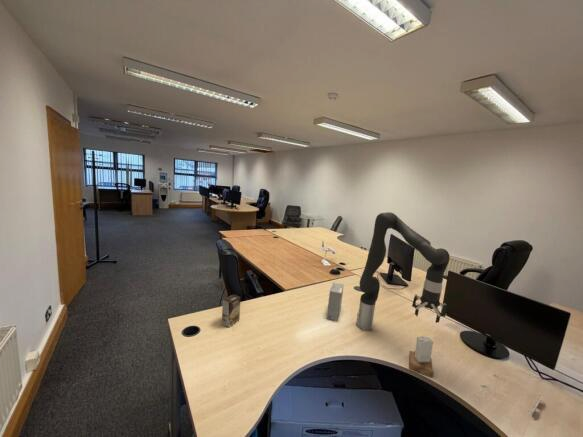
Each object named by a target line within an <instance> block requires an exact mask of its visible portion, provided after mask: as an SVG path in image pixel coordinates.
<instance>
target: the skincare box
mask: <svg viewBox="0 0 583 437" xmlns="http://www.w3.org/2000/svg"><path fill="white" fill-rule="evenodd" d="M433 343H434V341H433V340H432V339H431V337H429V336H428V335H427V336H425V335H424V336H417V337H416V343H415V350H414V352H415V355H414V357H415V358H416V359H417V361H418V362H419V363H420V362H430V358H431V359H432V350H433Z"/></svg>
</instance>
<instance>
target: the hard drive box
mask: <svg viewBox="0 0 583 437" xmlns="http://www.w3.org/2000/svg"><path fill="white" fill-rule="evenodd" d="M344 286H345V284H343V283H339V282H335V281H334V282H332V285H331V287H330V290H329V294H328V304H327V310H326V311H327V312H326V319H327V318H328V320H330V319H331V320H330V321H334V320H335V322H339V318H340V314H341V309H342V301H343V293H344Z"/></svg>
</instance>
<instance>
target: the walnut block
mask: <svg viewBox="0 0 583 437" xmlns="http://www.w3.org/2000/svg"><path fill="white" fill-rule="evenodd" d="M408 353H409V355H408V370H410V371H413V372H415V373H419V374H421V375H424V376H427V377H429V378H432V376H433V363H432V362H433V361H432V357H431V358H430V362H420V363H419V362H418V361H417V359H416V358H415V357H414V355H415V351H413V350H409V352H408Z"/></svg>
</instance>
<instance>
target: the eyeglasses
mask: <svg viewBox="0 0 583 437" xmlns="http://www.w3.org/2000/svg"><path fill="white" fill-rule="evenodd" d="M490 375H492V376H494V377H496V376H503V377H506V378H509V379H510V380H513V381H515V382H516V383H518V381H517V380H514V379H513V378H511V377H509V376H507V375H504V374H499V373H490ZM520 385H522V386H523V387H525V385H523V384H522V383H520ZM480 386H481V387H483V388H485V387H487V388H492V389H493V390H495V391H497V392H499V393H500V394H501V395H502V396H505V397H507V398H508V399H509V400H511V401H512V402H514V403H516V404H517V405H519V403H518V402H515V400H513V399H511V398H510V397H508V396H506V395H504V394H503V393H502V392H501V391H499V390H498V389H496V388H494V387H493V386H489V385H487V384H480ZM527 389H528V390H530V388H528V387H527ZM532 392H534V393H535V391H534V390H532ZM537 395H538V396H539V397H540V399H539V400H538V401H537V402H536V403H535V404H534V406H533V407H532V408H533V410H530V409H529V408H526V407H524V406H522V405H521V407H522V408H524V409H525V410H526V411H528V412H529V413H531V414H530V415H531V417H532V416H533V415H534V413H535V412H536V410H537V408H538V407H539V405H540V404H541V401H542V399H543V395H542V394H539V393H537Z"/></svg>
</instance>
